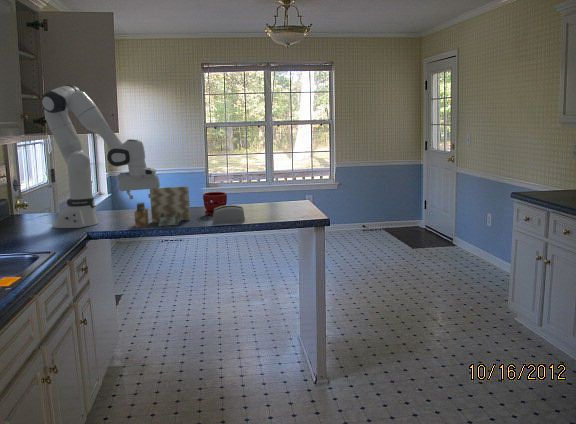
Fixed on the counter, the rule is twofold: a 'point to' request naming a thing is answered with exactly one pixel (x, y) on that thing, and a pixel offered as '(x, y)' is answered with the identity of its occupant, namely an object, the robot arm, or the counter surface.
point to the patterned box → (170, 205)
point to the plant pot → (214, 201)
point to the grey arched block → (228, 214)
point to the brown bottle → (141, 216)
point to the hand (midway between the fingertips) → (140, 198)
